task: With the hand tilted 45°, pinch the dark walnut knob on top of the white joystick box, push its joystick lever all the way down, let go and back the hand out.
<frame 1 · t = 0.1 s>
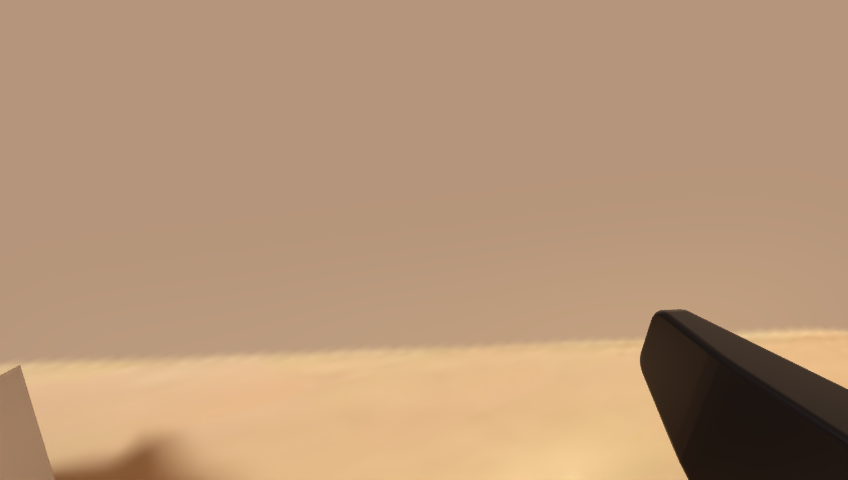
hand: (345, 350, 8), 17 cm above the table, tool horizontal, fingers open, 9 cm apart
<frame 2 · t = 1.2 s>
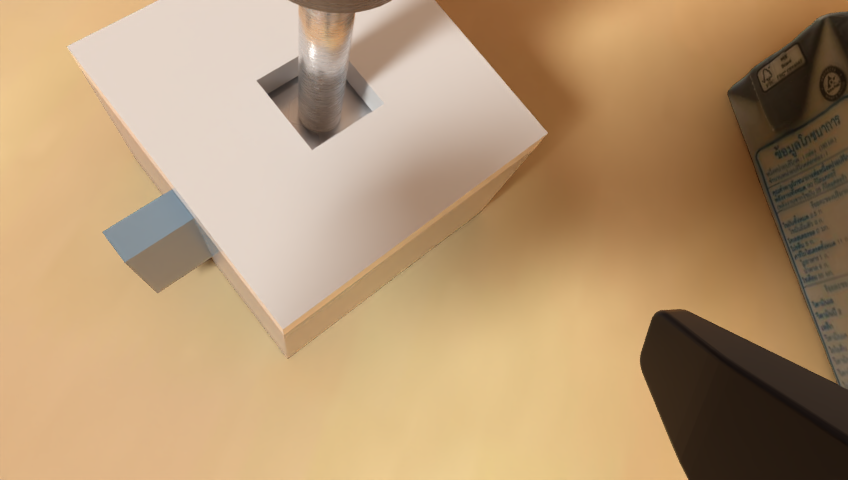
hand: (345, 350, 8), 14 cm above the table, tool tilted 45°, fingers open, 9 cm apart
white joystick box: (314, 186, 23), on the table
joystick lever: (326, 16, 14), point 10 cm above the table, slide at 4.5 cm
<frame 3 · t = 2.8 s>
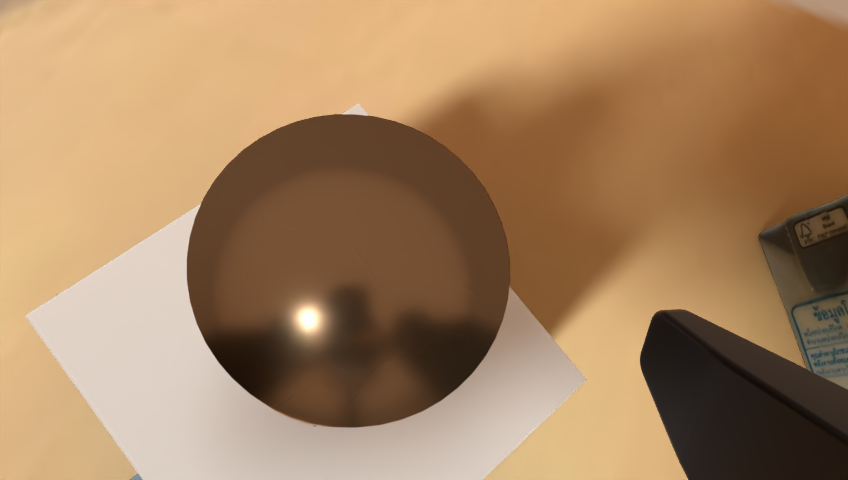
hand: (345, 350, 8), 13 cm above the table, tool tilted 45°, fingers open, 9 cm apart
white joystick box: (316, 374, 21), on the table
joystick lever: (332, 328, 11), point 10 cm above the table, slide at 4.5 cm
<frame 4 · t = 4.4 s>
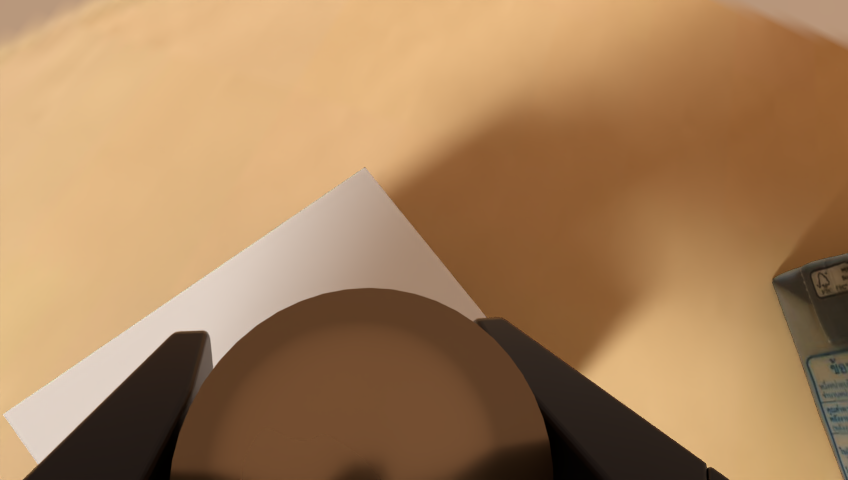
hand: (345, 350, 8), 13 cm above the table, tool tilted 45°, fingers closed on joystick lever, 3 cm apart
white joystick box: (318, 436, 20), on the table
joystick lever: (338, 451, 10), point 10 cm above the table, slide at 4.5 cm, touching gripper
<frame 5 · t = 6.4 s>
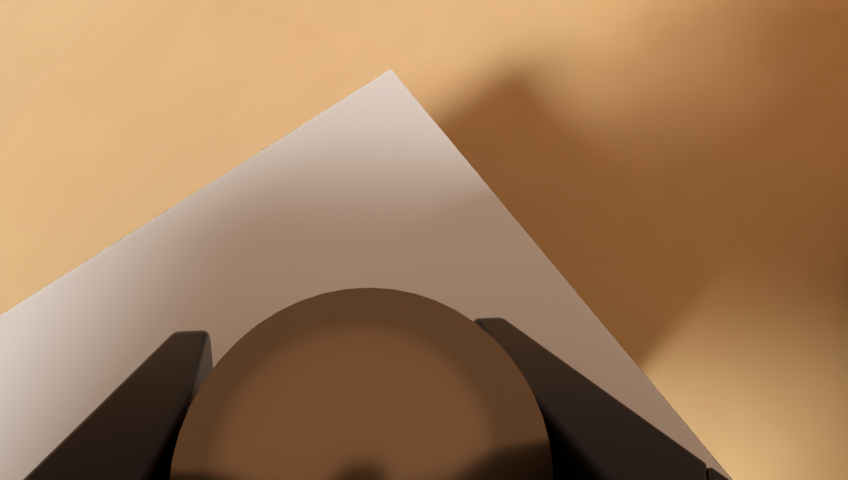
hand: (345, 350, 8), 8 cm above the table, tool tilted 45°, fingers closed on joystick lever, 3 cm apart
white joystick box: (324, 440, 16), on the table
joystick lever: (338, 451, 10), point 6 cm above the table, slide at 0.0 cm, touching gripper
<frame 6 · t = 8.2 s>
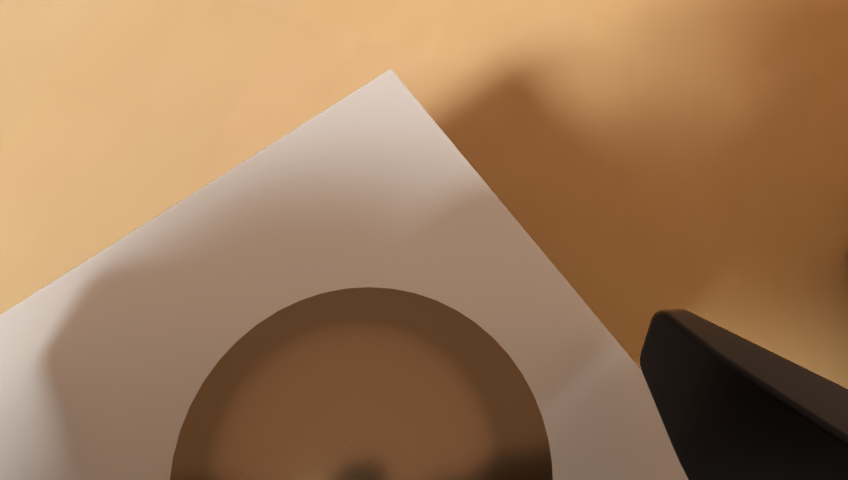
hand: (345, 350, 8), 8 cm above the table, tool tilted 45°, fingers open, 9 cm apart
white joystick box: (324, 440, 16), on the table
joystick lever: (338, 450, 10), point 6 cm above the table, slide at 0.0 cm
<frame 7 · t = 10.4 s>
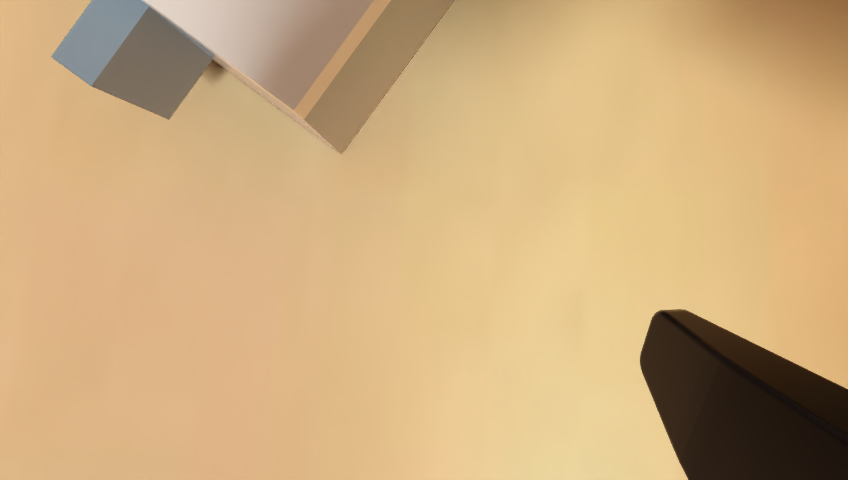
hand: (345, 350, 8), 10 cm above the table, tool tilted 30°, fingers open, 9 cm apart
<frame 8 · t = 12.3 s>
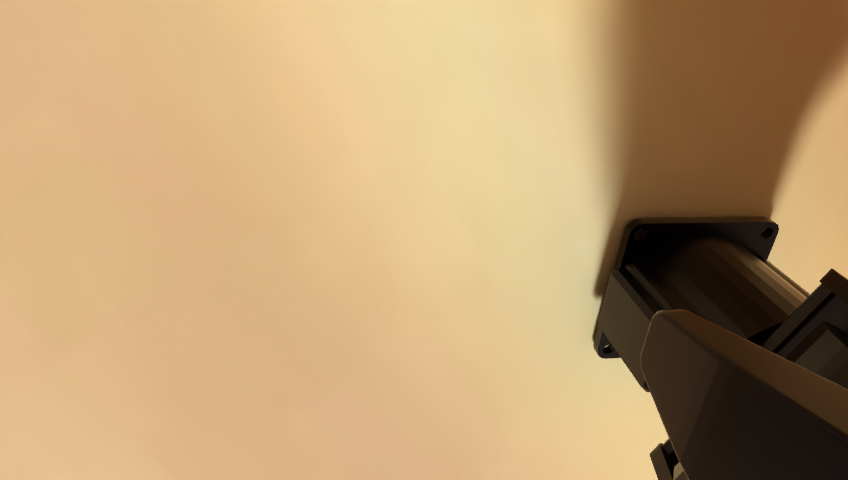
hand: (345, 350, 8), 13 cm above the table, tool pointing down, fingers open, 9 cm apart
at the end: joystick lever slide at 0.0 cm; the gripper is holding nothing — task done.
